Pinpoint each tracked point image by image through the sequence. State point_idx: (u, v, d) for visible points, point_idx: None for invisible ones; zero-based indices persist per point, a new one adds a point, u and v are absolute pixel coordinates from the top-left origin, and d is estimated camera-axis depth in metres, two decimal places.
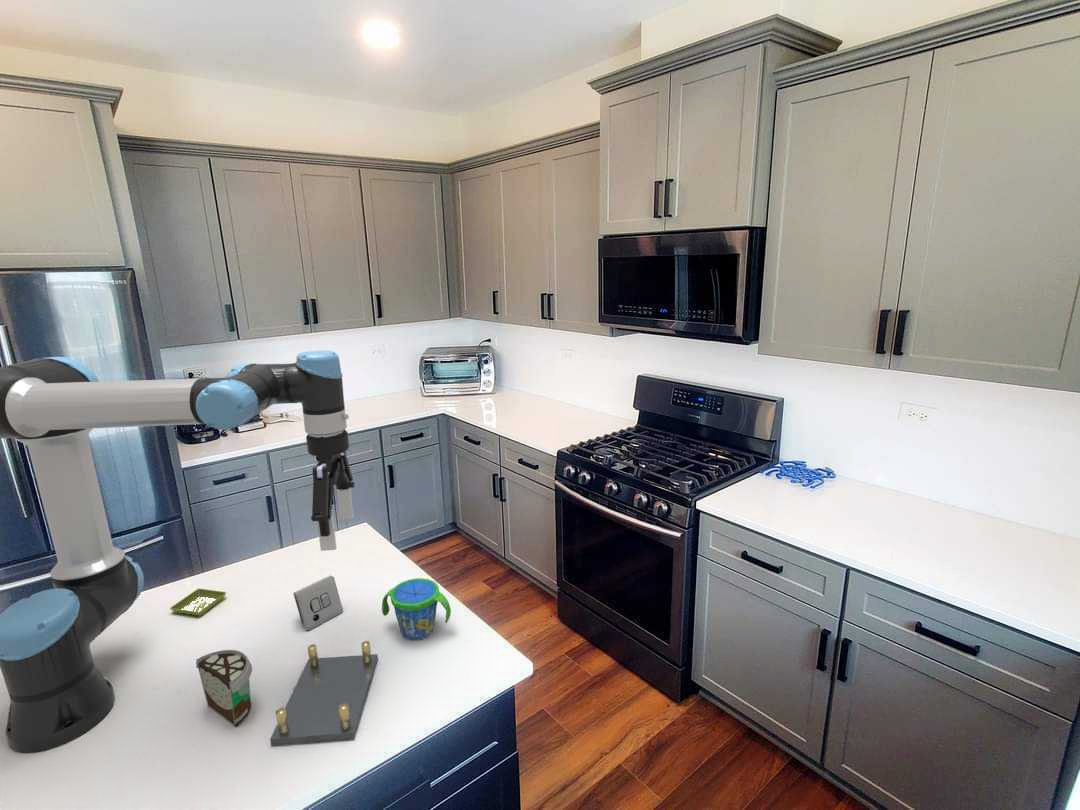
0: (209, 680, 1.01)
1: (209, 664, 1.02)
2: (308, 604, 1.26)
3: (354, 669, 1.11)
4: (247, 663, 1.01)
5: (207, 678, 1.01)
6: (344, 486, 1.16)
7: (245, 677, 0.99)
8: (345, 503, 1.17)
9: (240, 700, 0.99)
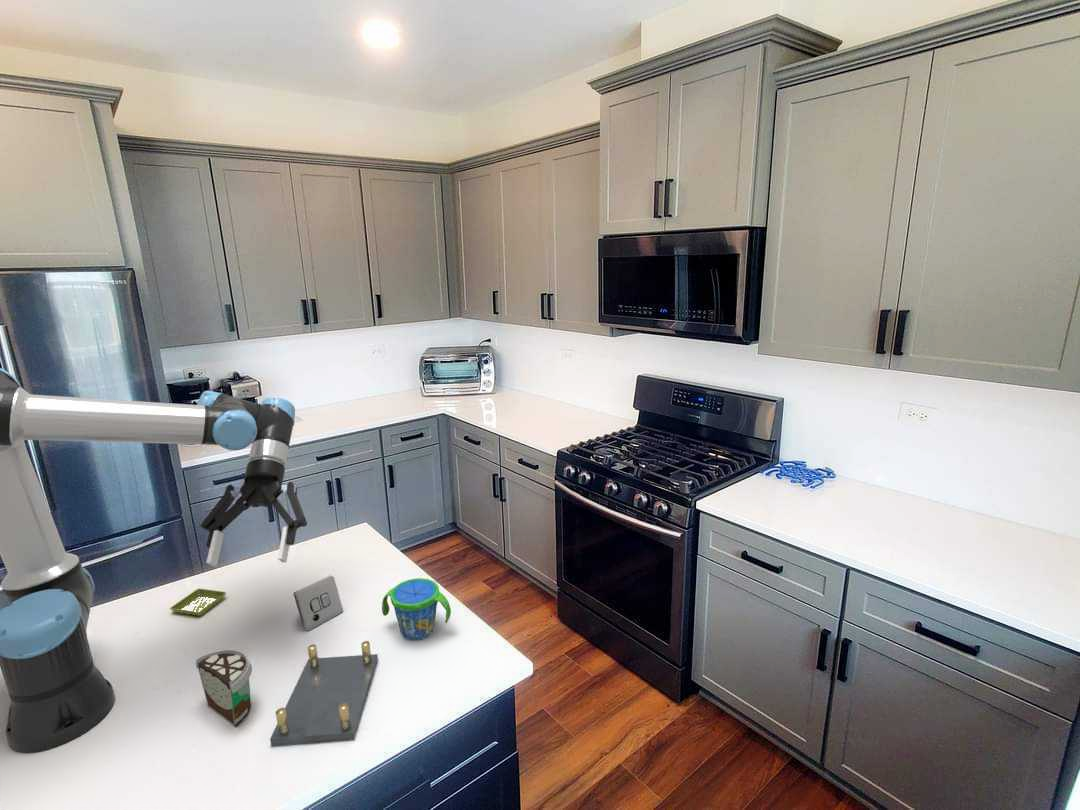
0: (209, 680, 1.01)
1: (209, 664, 1.02)
2: (308, 604, 1.26)
3: (354, 669, 1.11)
4: (247, 663, 1.01)
5: (207, 678, 1.01)
6: (218, 530, 1.13)
7: (245, 677, 0.99)
8: (218, 546, 1.11)
9: (240, 700, 0.99)
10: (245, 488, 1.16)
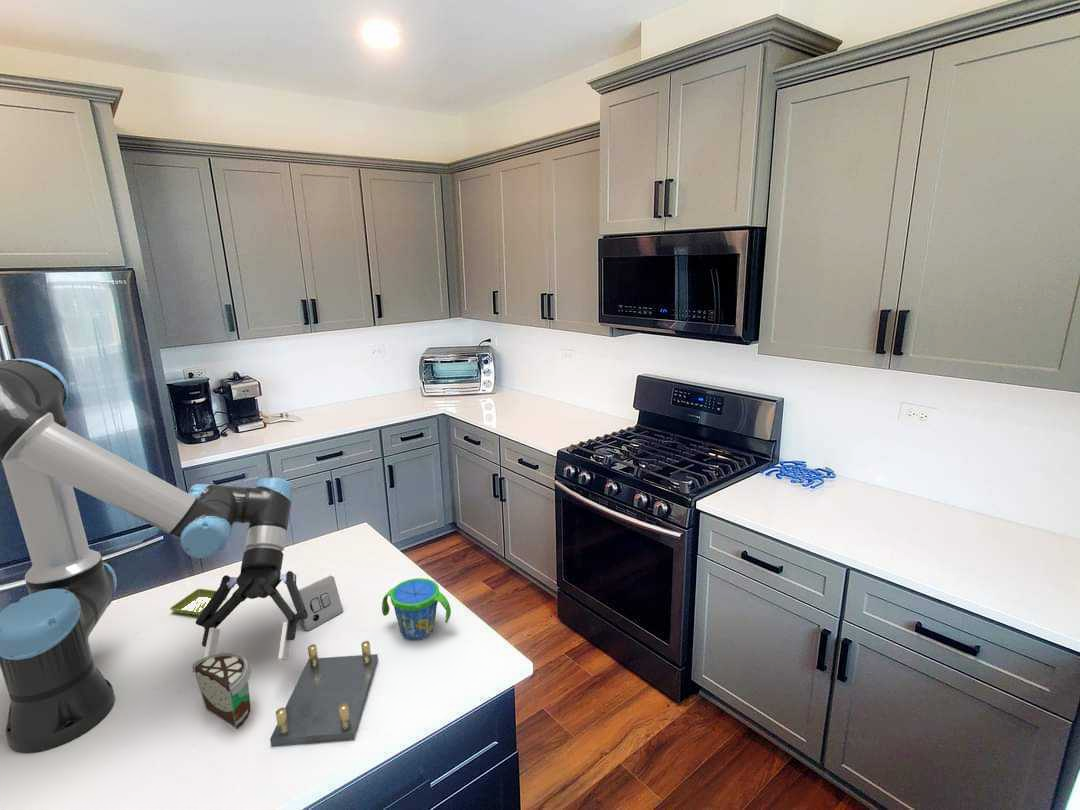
0: (206, 684, 1.00)
1: (206, 668, 1.01)
2: (308, 604, 1.26)
3: (354, 669, 1.11)
4: (245, 665, 1.01)
5: (205, 682, 1.01)
6: (214, 625, 1.08)
7: (244, 679, 0.99)
8: (214, 644, 1.06)
9: (240, 701, 0.99)
10: (242, 579, 1.11)
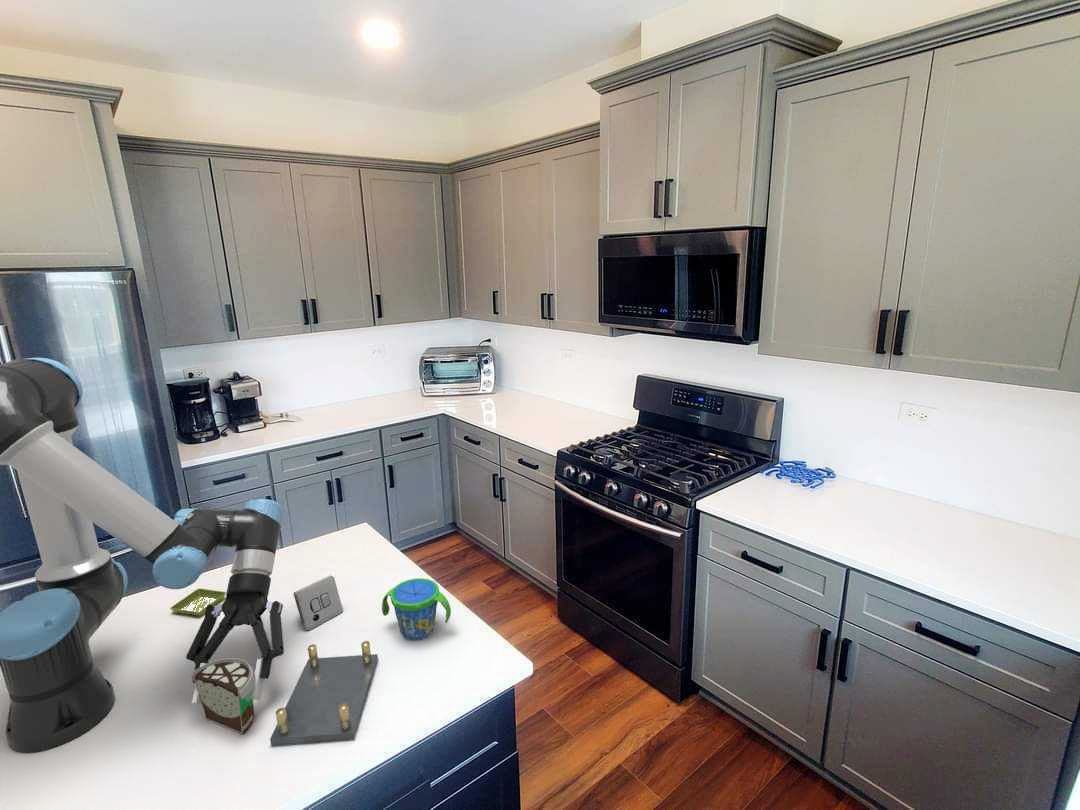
0: (208, 691, 0.99)
1: (207, 675, 0.99)
2: (308, 604, 1.26)
3: (354, 669, 1.11)
4: (250, 669, 1.00)
5: (206, 689, 0.99)
6: (205, 660, 1.04)
7: (251, 682, 0.98)
8: None
9: (247, 706, 0.98)
10: (227, 605, 1.07)
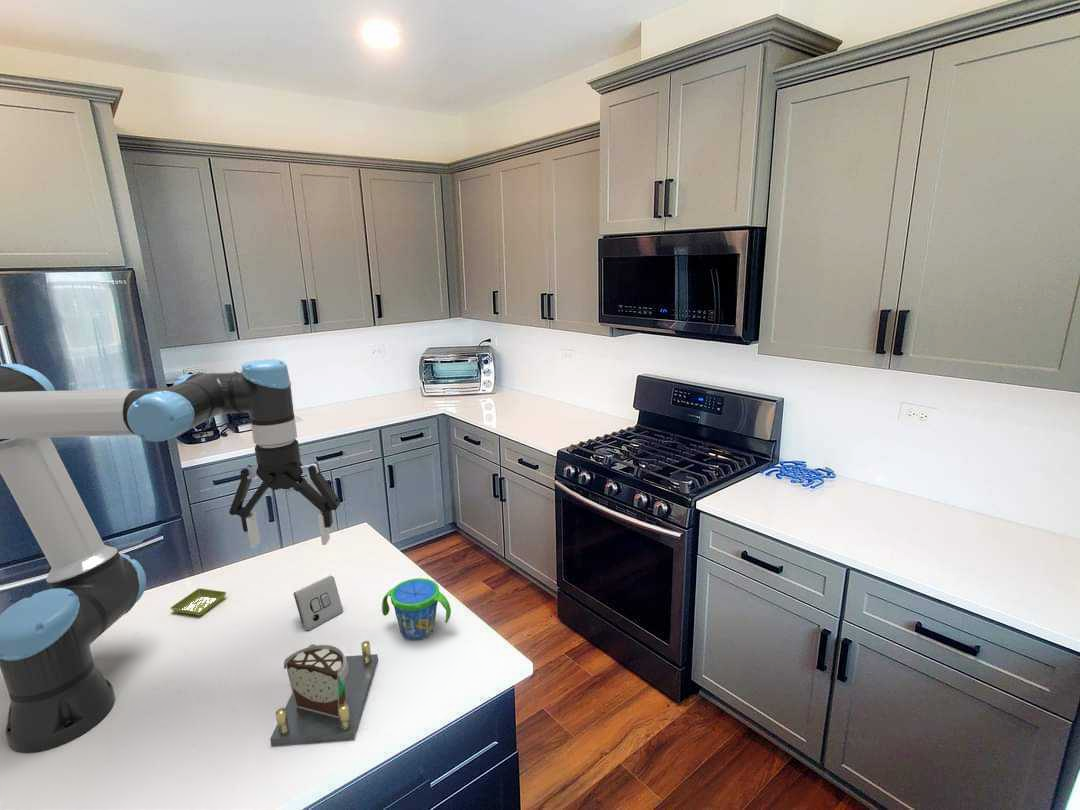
0: (302, 678, 0.99)
1: (300, 662, 1.00)
2: (308, 604, 1.26)
3: (354, 669, 1.11)
4: (342, 653, 1.01)
5: (300, 676, 0.99)
6: (248, 512, 1.08)
7: (346, 666, 0.99)
8: (255, 528, 1.08)
9: (343, 689, 0.99)
10: (262, 473, 1.05)
